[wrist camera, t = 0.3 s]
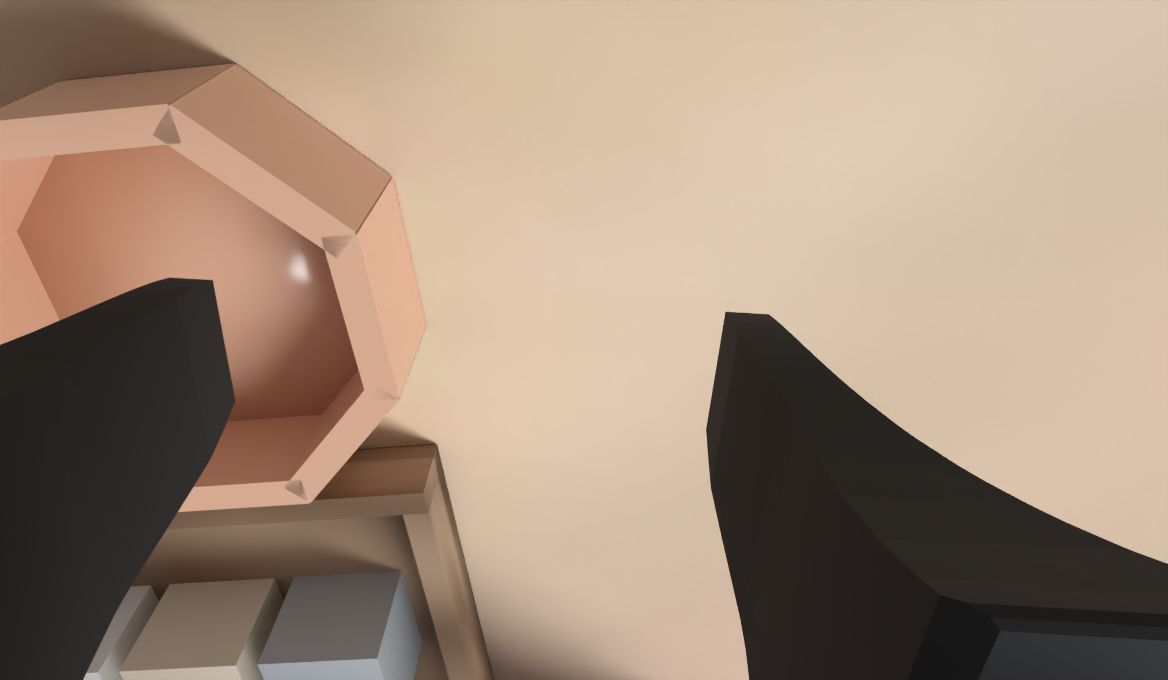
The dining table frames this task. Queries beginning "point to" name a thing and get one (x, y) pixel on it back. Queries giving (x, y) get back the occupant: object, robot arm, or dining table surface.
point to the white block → (123, 633)
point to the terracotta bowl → (220, 255)
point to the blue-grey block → (344, 630)
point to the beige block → (206, 632)
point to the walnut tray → (347, 549)
